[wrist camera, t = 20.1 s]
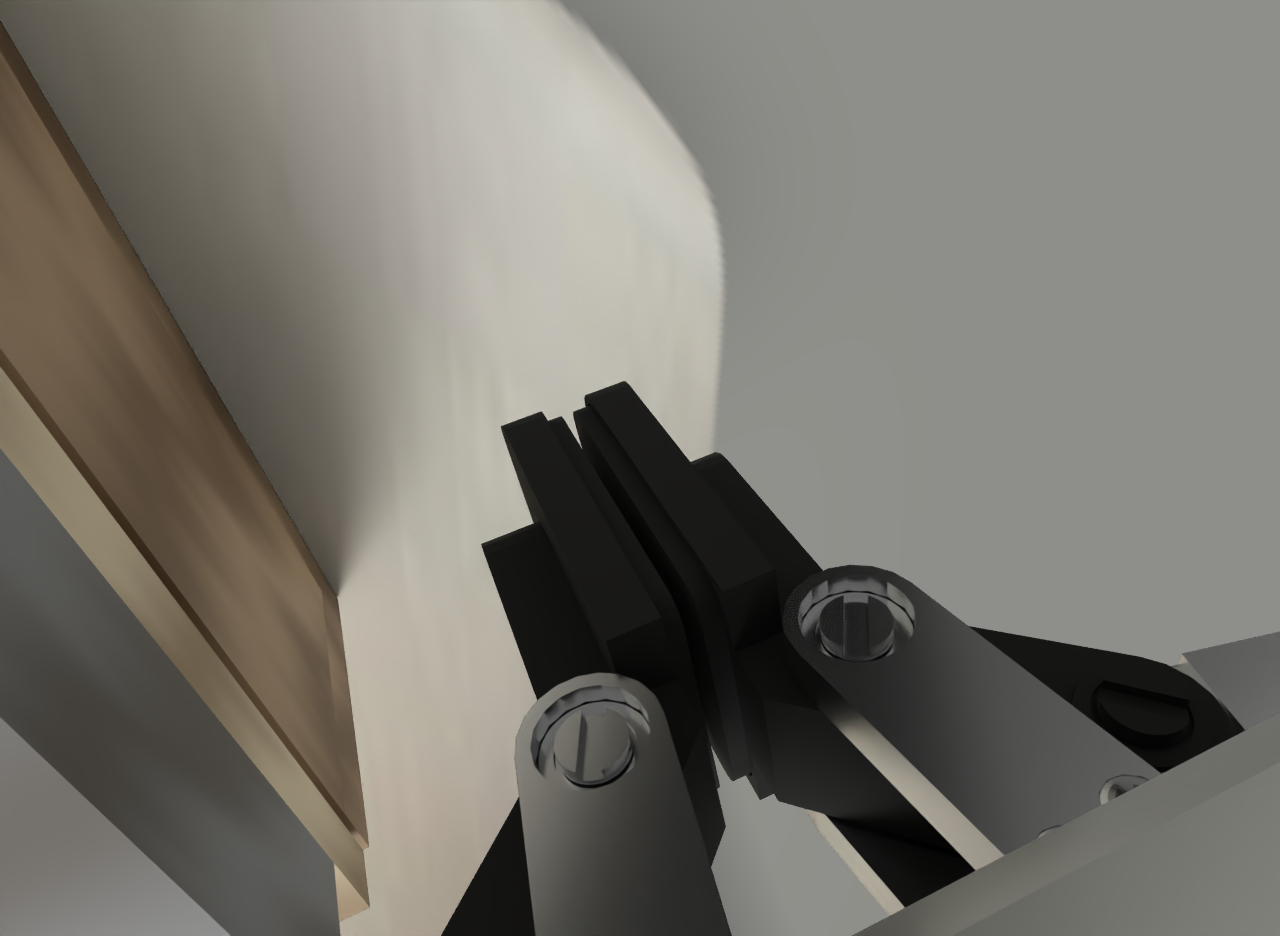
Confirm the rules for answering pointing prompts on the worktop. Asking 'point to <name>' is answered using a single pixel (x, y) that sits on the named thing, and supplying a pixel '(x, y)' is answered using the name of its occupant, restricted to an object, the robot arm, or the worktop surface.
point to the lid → (136, 741)
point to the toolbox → (162, 442)
